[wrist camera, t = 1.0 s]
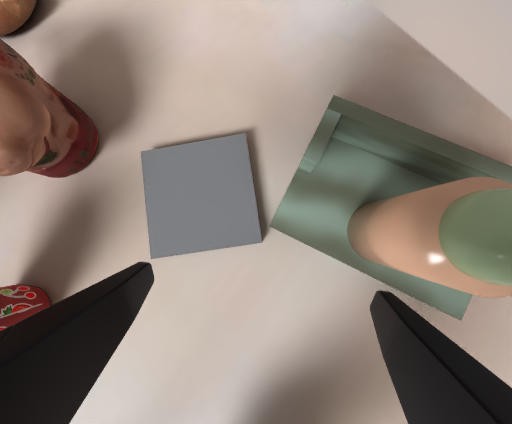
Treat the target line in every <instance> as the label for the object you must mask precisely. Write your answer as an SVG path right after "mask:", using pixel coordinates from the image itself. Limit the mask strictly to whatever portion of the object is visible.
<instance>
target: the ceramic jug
mask: <svg viewBox="0 0 512 424" xmlns="http://www.w3.org/2000/svg"><path fill="white" fill-rule="evenodd" d="M36 1H37V0H0V36H3V35H6V34H9V33H11V32H13V31H15V30H16V29H18V28H19V27H20V26H22V25H23V24H24V23H25V22H26V21H27V19H28V18H29V17H30V15H31V14H32V12H33V10H34V7H35V5H36Z"/></svg>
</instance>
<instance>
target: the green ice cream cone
mask: <svg viewBox="0 0 512 424" xmlns="http://www.w3.org/2000/svg"><path fill="white" fill-rule="evenodd" d="M347 235H348V240H349V242H350V245H351V246H352V248H353V250H354V251H355V252H356V253H357V254H358V255H359V256H361V257H362V258H364V259H365V260H368V261H370V262H373V263H376V264H379V265H382V266H386V267H389V268H392V269H395V270H398V271H401V272H404V273H407V274H410V275H413V276H416V277H420V278H423V279H426V280H429V281H432V282H435V283H438V284H441V285H444V286H447V287H450V288H453V289H457V290H460V291H463V292H466V293H469V294H472V295H476V296H480V297H487V298H499V297H506V296H511V295H512V184H511V183H509V182H506V181H503V180H500V179H496V178H491V177H470V178H465V179H461V180H457V181H454V182H450V183H446V184H442V185H438V186H434V187H430V188H426V189H422V190H419V191H415V192H411V193H407V194H403V195H399V196H395V197H391V198H387V199H384V200H380V201H376V202H372V203H368V204H365V205H363V206H361V207H360V208H358V209H357V210H356V211H355V212H354V213H353V214H352V216H351V218H350V220H349V222H348V227H347Z"/></svg>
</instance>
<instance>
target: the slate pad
mask: <svg viewBox="0 0 512 424" xmlns="http://www.w3.org/2000/svg"><path fill="white" fill-rule="evenodd" d="M141 159H142V170H143V180H144V191H145V201H146V212H147V222H148V233H149V244H150V254H151V259H154V258H161V257H168V256H174V255H181V254H188V253H195V252H201V251H208V250H215V249H222V248H228V247H235V246H242V245H249V244H255V243H262V235H261V228H260V222H259V215H258V209H257V202H256V196H255V189H254V182H253V176H252V169H251V163H250V156H249V150H248V143H247V137H246V133H242V134H237V135H231V136H225V137H220V138H214V139H209V140H203V141H198V142H192V143H187V144H181V145H176V146H170V147H165V148H159V149H153V150H148V151H142V152H141Z"/></svg>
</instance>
